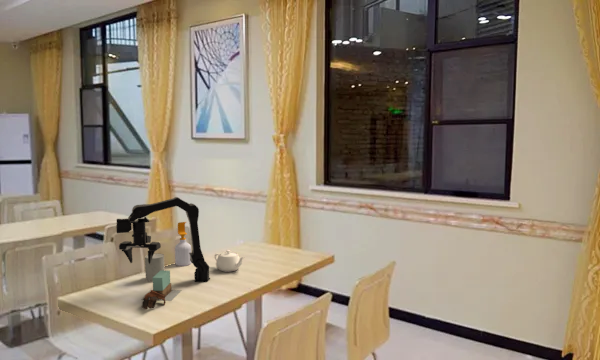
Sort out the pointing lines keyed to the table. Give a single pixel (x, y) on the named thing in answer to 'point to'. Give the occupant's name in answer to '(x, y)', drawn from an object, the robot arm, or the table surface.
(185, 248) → the soap bottle
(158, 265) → the speckled grey cylinder
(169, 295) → the build mat
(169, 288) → the post
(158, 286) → the lintel
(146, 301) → the brown curved piece
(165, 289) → the brown wooden block
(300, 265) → the table surface
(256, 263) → the table surface
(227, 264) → the teapot
